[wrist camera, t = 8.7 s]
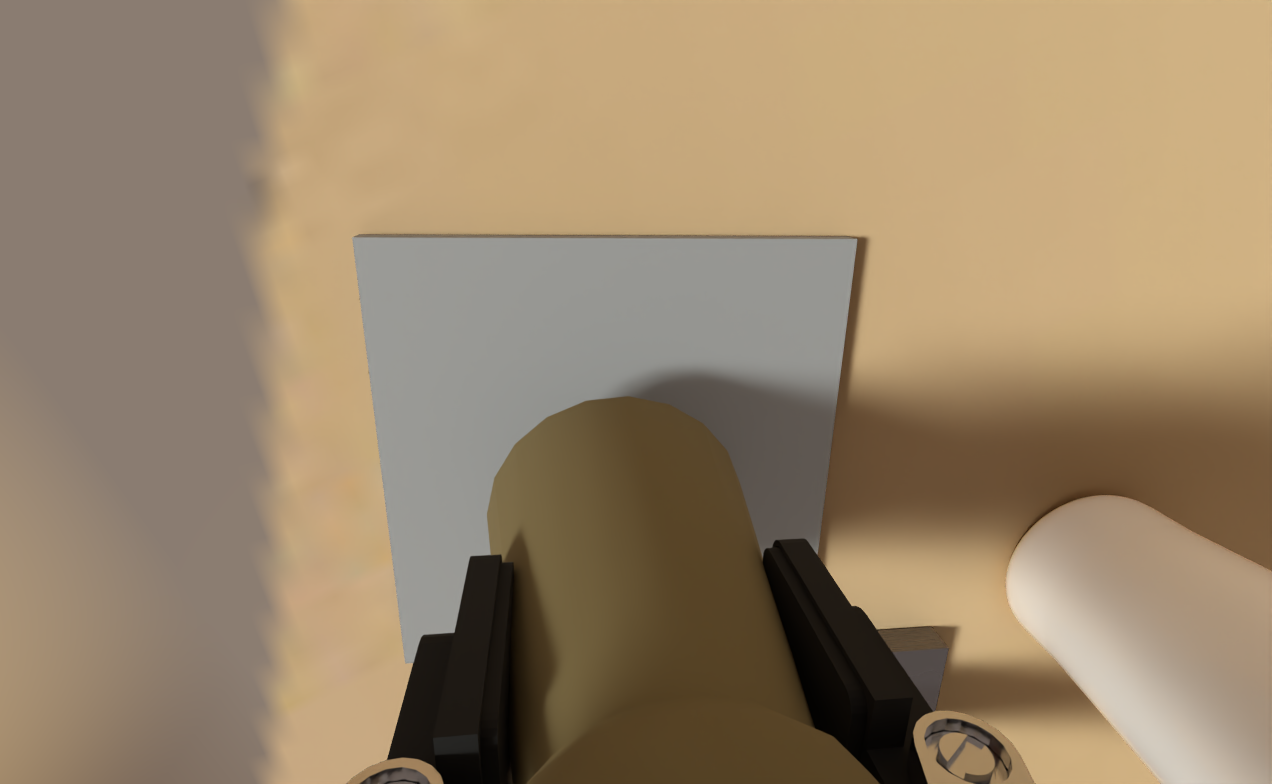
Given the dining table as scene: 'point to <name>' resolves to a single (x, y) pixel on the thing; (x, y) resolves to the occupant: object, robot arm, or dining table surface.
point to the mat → (591, 371)
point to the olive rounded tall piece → (645, 612)
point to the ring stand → (920, 658)
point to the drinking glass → (1154, 634)
